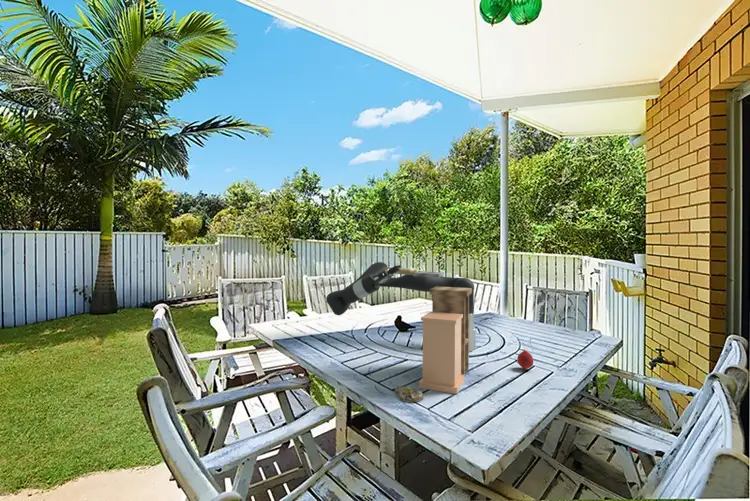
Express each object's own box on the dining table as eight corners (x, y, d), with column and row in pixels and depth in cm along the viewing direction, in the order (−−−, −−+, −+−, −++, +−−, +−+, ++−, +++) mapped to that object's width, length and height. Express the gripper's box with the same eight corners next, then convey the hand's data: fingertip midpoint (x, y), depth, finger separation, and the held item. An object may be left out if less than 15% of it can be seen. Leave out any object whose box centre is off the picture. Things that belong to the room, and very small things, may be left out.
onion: (532, 368, 142) (532, 348, 142) (534, 372, 136) (534, 352, 136) (516, 366, 144) (517, 346, 144) (517, 371, 138) (517, 350, 138)
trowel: (379, 274, 144) (380, 267, 144) (388, 272, 152) (388, 266, 152) (438, 277, 134) (438, 270, 134) (444, 275, 142) (444, 268, 142)
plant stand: (429, 372, 137) (429, 289, 136) (436, 364, 146) (436, 286, 145) (466, 378, 131) (467, 291, 130) (471, 369, 140) (471, 288, 139)
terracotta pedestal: (418, 387, 122) (419, 317, 122) (429, 375, 134) (429, 311, 134) (457, 394, 117) (457, 321, 117) (464, 380, 129) (464, 314, 128)
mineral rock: (430, 390, 114) (414, 390, 109) (428, 405, 114) (412, 405, 108) (405, 382, 122) (389, 382, 117) (403, 395, 121) (387, 396, 116)
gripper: (354, 279, 146) (388, 259, 139) (369, 277, 158) (401, 258, 152) (362, 296, 144) (397, 276, 138) (376, 292, 157) (409, 274, 151)
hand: (399, 267), depth 145 cm, fingers closed on trowel, 2 cm apart
